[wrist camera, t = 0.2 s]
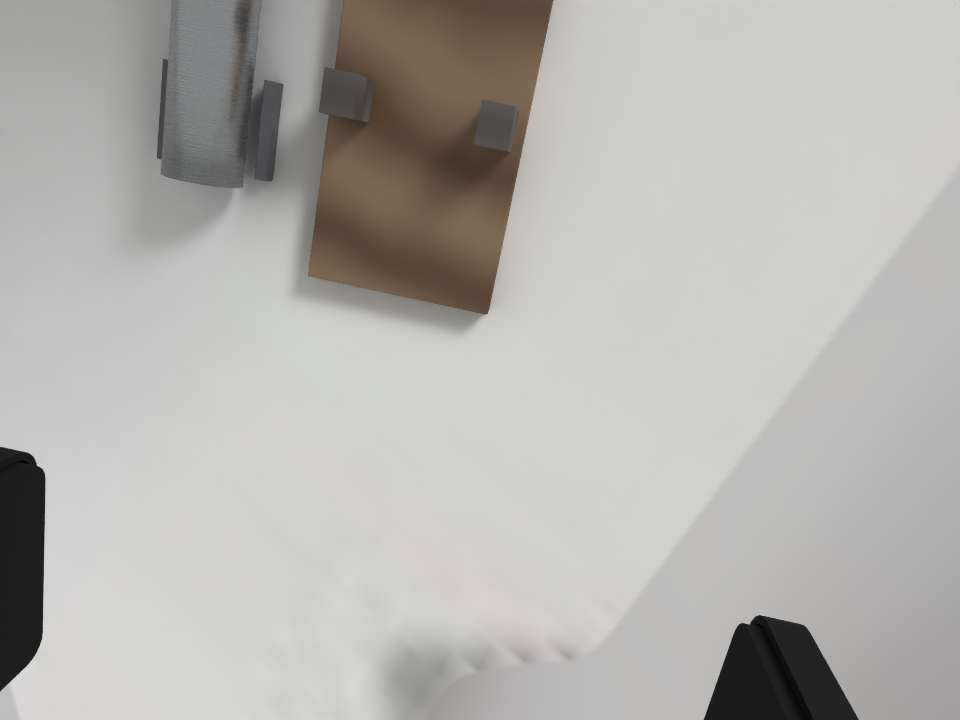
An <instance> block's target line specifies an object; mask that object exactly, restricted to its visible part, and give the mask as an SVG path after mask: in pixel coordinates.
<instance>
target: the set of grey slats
mask: <svg viewBox="0 0 960 720" xmlns="http://www.w3.org/2000/svg"><path fill="white" fill-rule="evenodd" d="M167 71H168V60H166V59H163V71H162V87H161V102H160V118H159V134H158V150H157V158H159V159H162V148H163V132H164V117H165V102H166V86H167ZM282 89H283V84H280V83H276V82H272V81H267V80H265V82H264V92H263V101H262V111H261V121H260V130H259V140H258V150H257V159H256V169H255V179H258V180H262V181H272V180H273V171H274V162H275V153H276V144H277V135H278V126H279V116H280V107H281V98H282Z"/></svg>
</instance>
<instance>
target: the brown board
mask: <svg viewBox="0 0 960 720" xmlns="http://www.w3.org/2000/svg"><path fill="white" fill-rule="evenodd" d="M552 4H553V0H344V3H343V11H342V18H341V26H340V34H339V41H338V49H337V57H336V65H335V69H331V68H327V67H325V69H324V77H323V85H322V93H321V101H320V109H319V112H320V113H325V114H329V119H328V126H327V134H326V142H325V150H324V157H323V165H322V173H321V180H320V188H319V196H318V204H317V211H316V219H315V227H314V234H313V242H312V250H311V258H310V265H309V273H308V276H311V277H316V278H320V279H325V280H330V281H334V282H339V283H343V284H348V285H353V286H357V287H362V288H367V289H371V290H376V291H380V292H385V293H390V294H394V295H399V296H404V297H408V298H413V299H417V300H422V301H427V302H431V303H436V304H441V305H445V306H450V307H454V308H459V309H464V310H468V311H473V312H477V313H482V314H487V313H488V311H489V307H490V302H491V297H492V293H493V288H494V283H495V278H496V273H497V268H498V264H499V259H500V254H501V249H502V244H503V240H504V235H505V230H506V225H507V220H508V215H509V211H510V206H511V201H512V196H513V191H514V187H515V182H516V177H517V172H518V167H519V162H520V158H521V153H522V148H523V143H524V138H525V134H526V129H527V124H528V119H529V114H530V109H531V105H532V100H533V95H534V90H535V85H536V81H537V76H538V71H539V66H540V61H541V57H542V52H543V47H544V42H545V37H546V32H547V28H548V23H549V18H550V13H551V8H552Z"/></svg>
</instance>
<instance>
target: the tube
mask: <svg viewBox="0 0 960 720" xmlns="http://www.w3.org/2000/svg"><path fill="white" fill-rule="evenodd" d="M260 8H261V0H172V9H171V25H170V40H169V55H168V71H167V86H166V102H165V117H164V132H163V148H162V163H161V174H162V175H164V176H166V177H169V178H173V179H177V180H181V181H186V182H191V183H196V184H202V185H209V186H217V187H227V188H242V187H243V181H244V171H245V161H246V151H247V140H248V130H249V120H250V110H251V100H252V90H253V80H254V69H255V59H256V49H257V39H258V29H259V19H260Z"/></svg>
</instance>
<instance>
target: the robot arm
mask: <svg viewBox="0 0 960 720" xmlns="http://www.w3.org/2000/svg"><path fill="white" fill-rule="evenodd" d="M44 529H45V473H44V471H43V469H42V468H40V467H38V466H37V464H36V461H35V459H34V457H33V456H32V455H31V454H29V453H26V452H22V451H17V450H13V449H8V448H4V447H0V691H1V690H2V689H3V688H4V687H5V686H6V685H7V684H8V683H9V682H10V681H11V680H13V679H14V678H15V677H16V676H17V675H18V674H19V673H20V672H21V671H22V670H23V669H24V668H25V667H26V666H27V665H28V664H29V663H30V661H31V660H32V659H33V657H34V656H35V654H36V652H37V650H38V648H39V646H40V643H41V640H42V634H43V584H44ZM704 720H859V719H858V718H857V716H856V714H855V712H854V711H853V709H852V707H851V705H850V703H849V701H848V700H847V698H846V696H845V695H844V693H843V691H842V689H841V687H840V685H839V684H838V682H837V680H836V678H835V676H834V675H833V673H832V671H831V669H830V667H829V666H828V664H827V662H826V660H825V659H824V657H823V655H822V653H821V651H820V650H819V648H818V646H817V644H816V643H815V641H814V639H813V637H812V635H811V634H810V632H809V631H808V629H807V628H806V627H805V626H804V625H801V624H797V623H793V622H788V621H784V620H779V619H775V618H770V617H766V616H761V615H759V616H756V617H755V618H754V619H753V620H752V621H751V623H750V625H748V624H744V623H741V624H739V625H738V627H737V628H736V630H735V632H734V635H733V638H732V641H731V643H730V646H729V649H728V652H727V655H726V658H725V661H724V664H723V667H722V669H721V672H720V675H719V678H718V681H717V683H716V687H715V689H714V692H713V695H712V698H711V701H710V704H709V706H708V710H707V712H706V715H705V718H704Z"/></svg>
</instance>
